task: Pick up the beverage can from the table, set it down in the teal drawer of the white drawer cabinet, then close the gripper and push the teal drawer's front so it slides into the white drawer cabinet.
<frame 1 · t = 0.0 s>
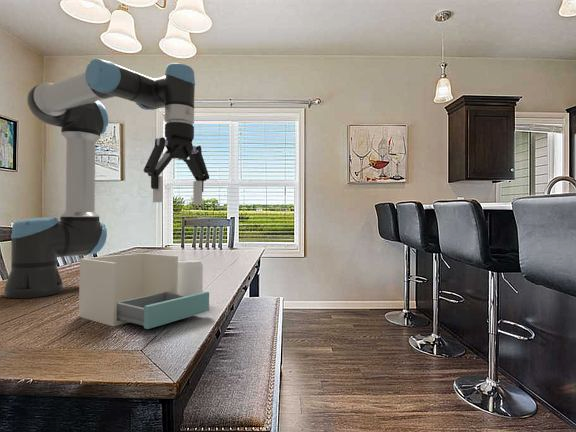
hand: (178, 203, 99), 28 cm above the table, fingers open, 13 cm apart
beverage can: (187, 304, 104), on the table
white drawer cabinet: (130, 312, 93), on the table
teal drawer: (160, 304, 87), point 4 cm above the table, slide at 10.0 cm
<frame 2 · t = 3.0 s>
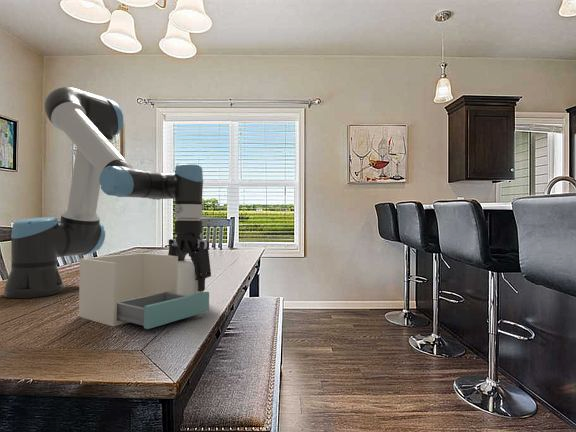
hand: (187, 300, 104), 1 cm above the table, fingers closed on beverage can, 8 cm apart
beverage can: (187, 304, 104), on the table, touching gripper
everything else where it was.
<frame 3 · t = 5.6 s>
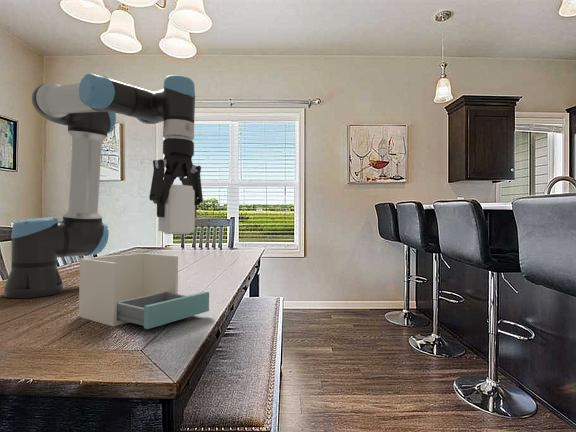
hand: (177, 230, 93), 21 cm above the table, fingers closed on beverage can, 8 cm apart
beverage can: (177, 234, 93), point 20 cm above the table, touching gripper
everything else where it was.
when the fingers open (5 cm above the table, at t = 8.3 s): beverage can drops 2 cm, resting on teal drawer.
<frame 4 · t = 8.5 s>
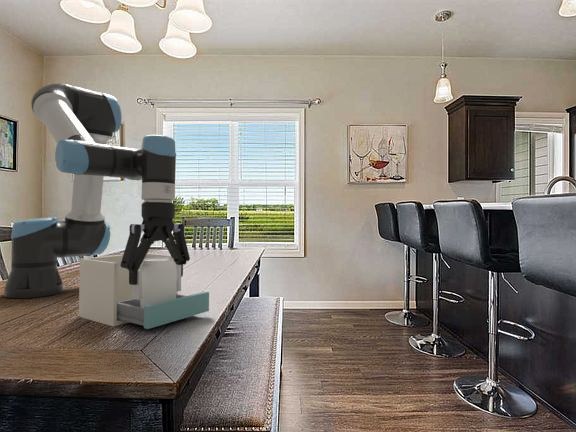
hand: (157, 294, 88), 6 cm above the table, fingers open, 10 cm apart
beverage can: (158, 310, 88), point 2 cm above the table, touching teal drawer
teal drawer: (160, 304, 87), point 4 cm above the table, slide at 10.0 cm, touching beverage can
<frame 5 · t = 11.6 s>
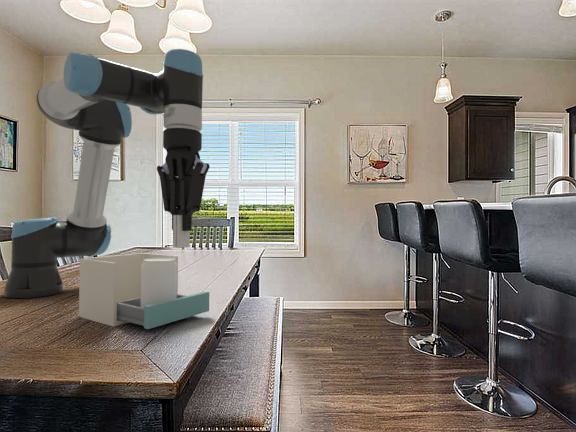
hand: (181, 247, 75), 18 cm above the table, fingers closed
nothing on the table moved.
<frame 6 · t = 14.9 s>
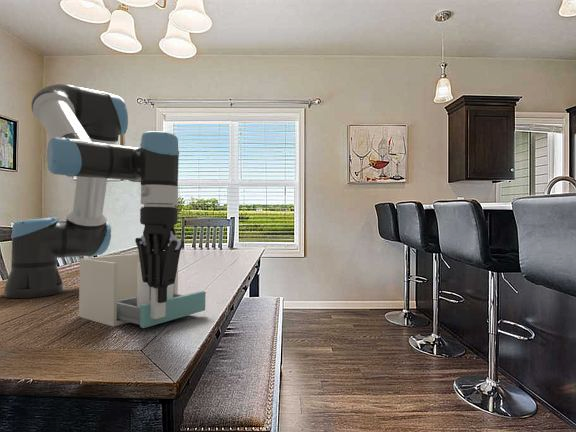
hand: (157, 317, 78), 3 cm above the table, fingers closed
beverage can: (155, 309, 89), point 2 cm above the table, touching teal drawer
teal drawer: (157, 303, 88), point 4 cm above the table, slide at 8.7 cm, touching beverage can, gripper
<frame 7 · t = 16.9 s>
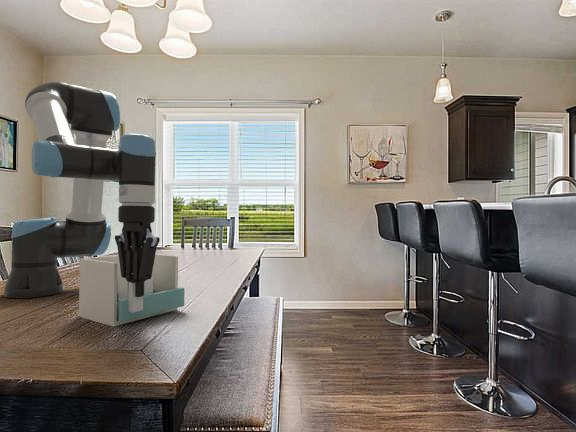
hand: (135, 310, 82), 3 cm above the table, fingers closed
beverage can: (135, 305, 93), point 2 cm above the table, touching teal drawer
teal drawer: (137, 299, 92), point 4 cm above the table, slide at 1.3 cm, touching beverage can, gripper
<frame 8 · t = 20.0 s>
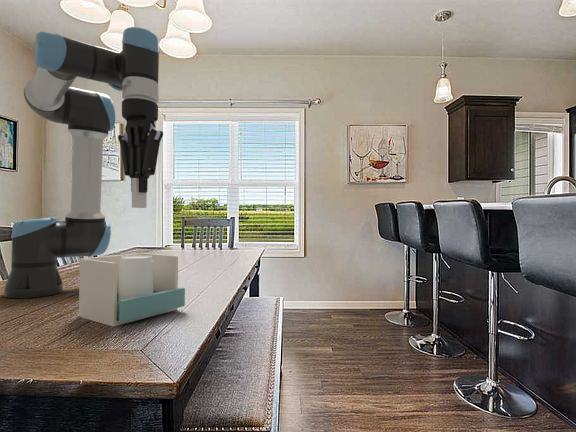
hand: (139, 207, 82), 26 cm above the table, fingers closed
teal drawer: (137, 299, 92), point 4 cm above the table, slide at 1.4 cm, touching beverage can
everything else where it was.
at the end: teal drawer slide at 1.4 cm; beverage can inside the target area on the white drawer cabinet (1.1 cm from its centre), point 2.0 cm above the white drawer cabinet's base; beverage can tilted 0° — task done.
